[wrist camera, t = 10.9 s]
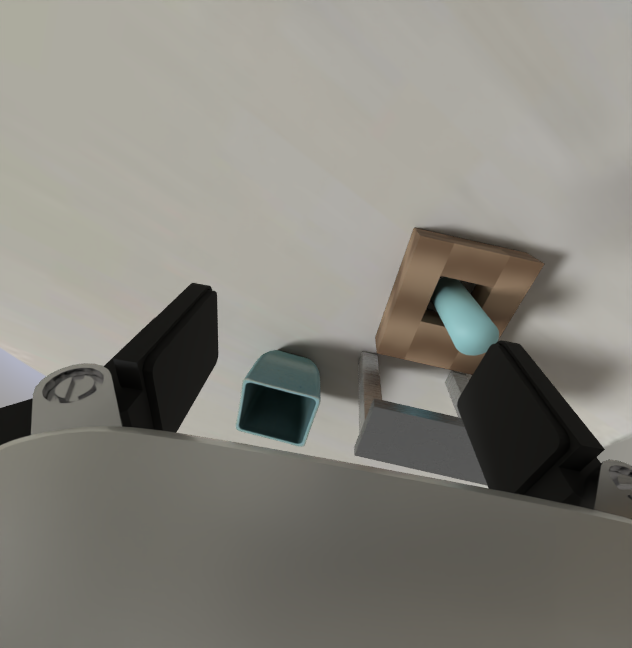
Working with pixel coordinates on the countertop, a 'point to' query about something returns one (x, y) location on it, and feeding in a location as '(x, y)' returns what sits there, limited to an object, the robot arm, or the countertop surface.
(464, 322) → the peg
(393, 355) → the socket
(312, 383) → the flower pot
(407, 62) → the countertop surface
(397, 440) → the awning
